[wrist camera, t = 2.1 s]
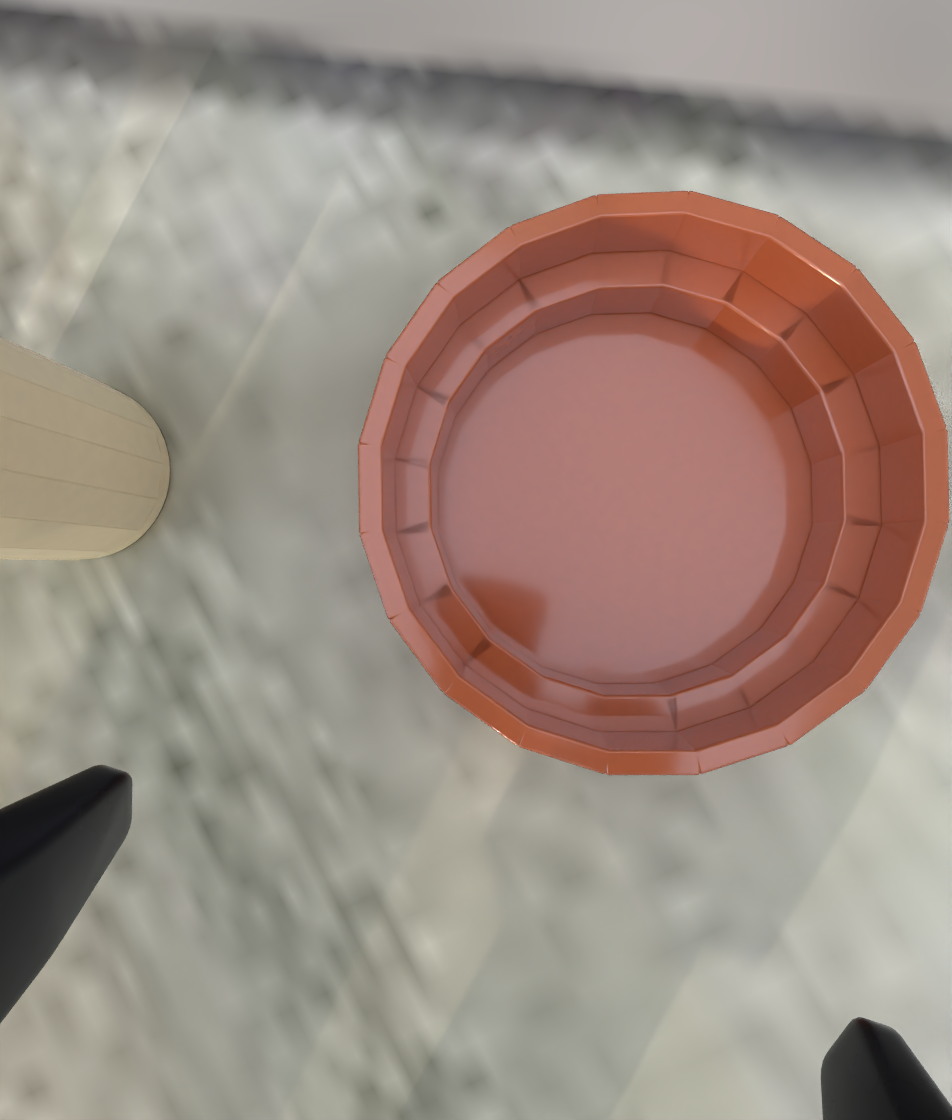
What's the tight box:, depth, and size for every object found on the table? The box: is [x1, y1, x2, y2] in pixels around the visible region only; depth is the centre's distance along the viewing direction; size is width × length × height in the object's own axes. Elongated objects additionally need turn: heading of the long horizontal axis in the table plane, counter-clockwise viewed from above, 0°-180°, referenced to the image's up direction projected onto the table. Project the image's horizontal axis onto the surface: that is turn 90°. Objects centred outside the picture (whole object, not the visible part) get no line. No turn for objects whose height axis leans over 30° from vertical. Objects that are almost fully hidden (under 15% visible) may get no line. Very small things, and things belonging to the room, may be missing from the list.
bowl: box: [358, 191, 949, 775], centre depth 21 cm, size 14×14×5 cm
